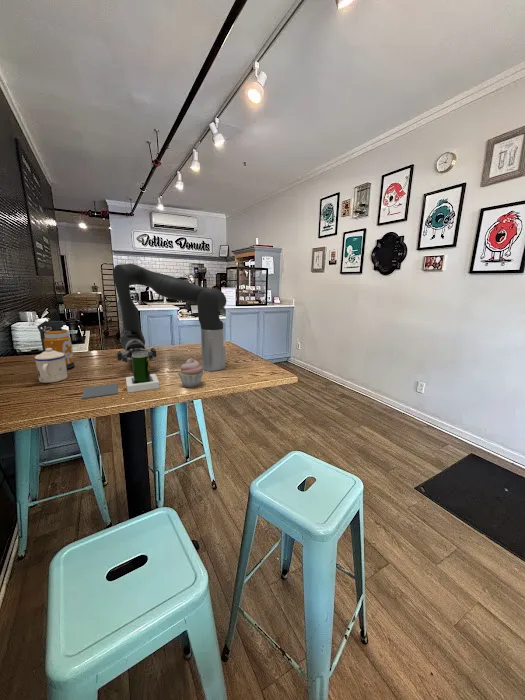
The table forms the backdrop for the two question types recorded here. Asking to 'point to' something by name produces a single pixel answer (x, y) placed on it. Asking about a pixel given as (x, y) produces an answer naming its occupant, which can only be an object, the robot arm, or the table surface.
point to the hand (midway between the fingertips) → (138, 358)
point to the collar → (142, 384)
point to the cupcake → (191, 373)
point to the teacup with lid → (51, 366)
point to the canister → (57, 339)
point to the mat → (99, 391)
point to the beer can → (140, 367)
